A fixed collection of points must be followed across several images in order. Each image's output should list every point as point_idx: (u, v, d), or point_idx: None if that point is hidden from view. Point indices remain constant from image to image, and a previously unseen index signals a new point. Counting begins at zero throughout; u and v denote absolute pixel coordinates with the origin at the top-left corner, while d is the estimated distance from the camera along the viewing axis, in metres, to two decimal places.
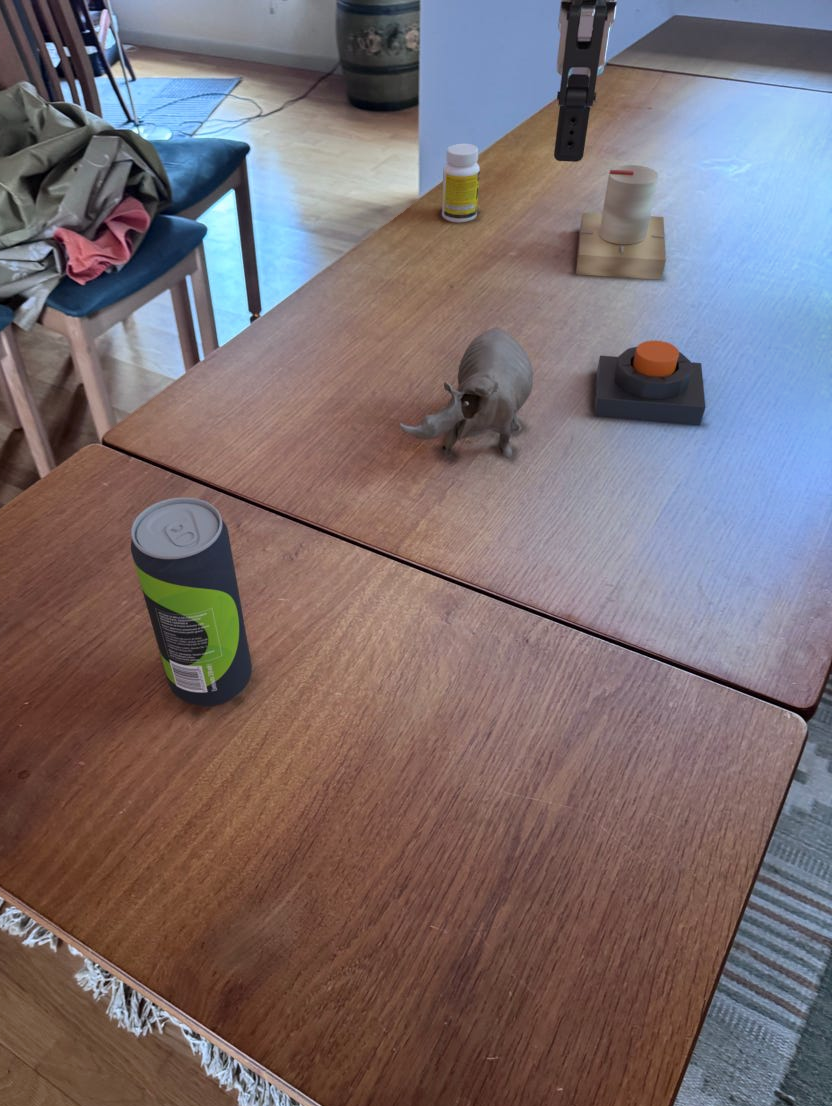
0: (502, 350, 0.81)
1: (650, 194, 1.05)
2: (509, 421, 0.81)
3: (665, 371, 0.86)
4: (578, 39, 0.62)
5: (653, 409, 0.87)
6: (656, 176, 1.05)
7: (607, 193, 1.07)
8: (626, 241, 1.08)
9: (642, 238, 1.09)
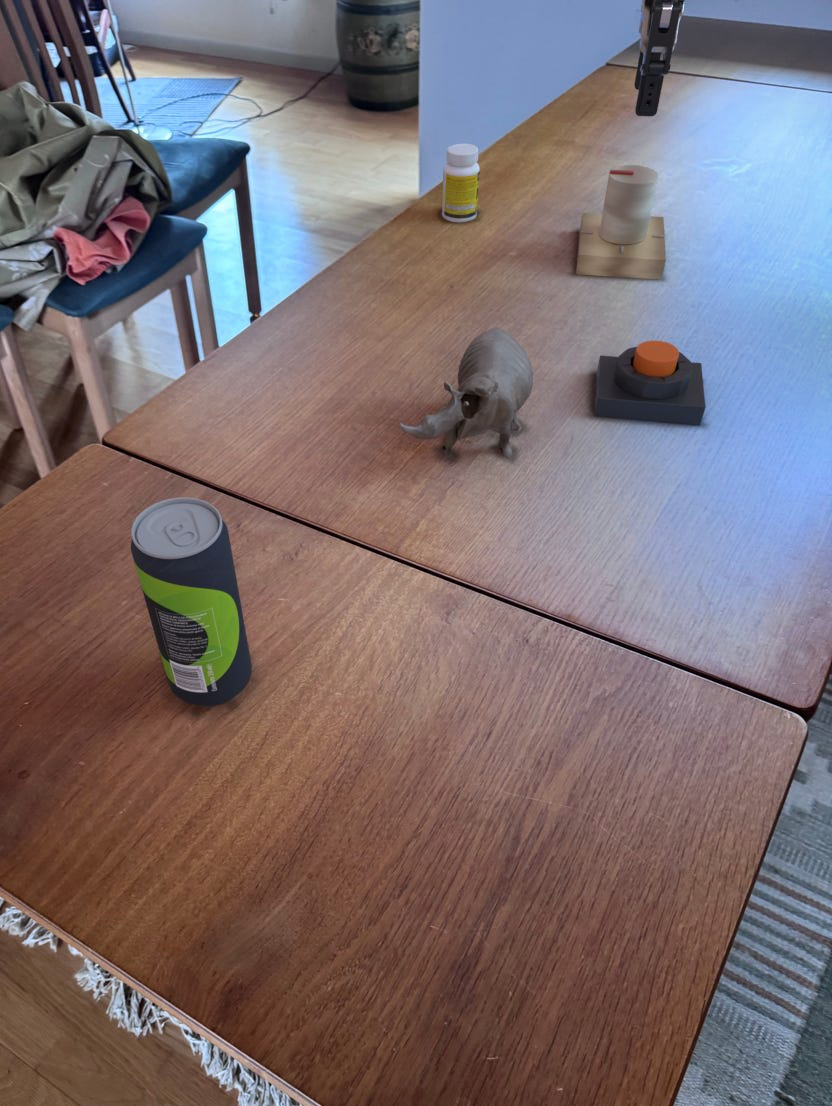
0: (502, 350, 0.81)
1: (650, 194, 1.05)
2: (509, 421, 0.81)
3: (665, 371, 0.86)
4: (660, 26, 0.88)
5: (653, 409, 0.87)
6: (656, 176, 1.05)
7: (607, 193, 1.07)
8: (626, 241, 1.08)
9: (642, 238, 1.09)
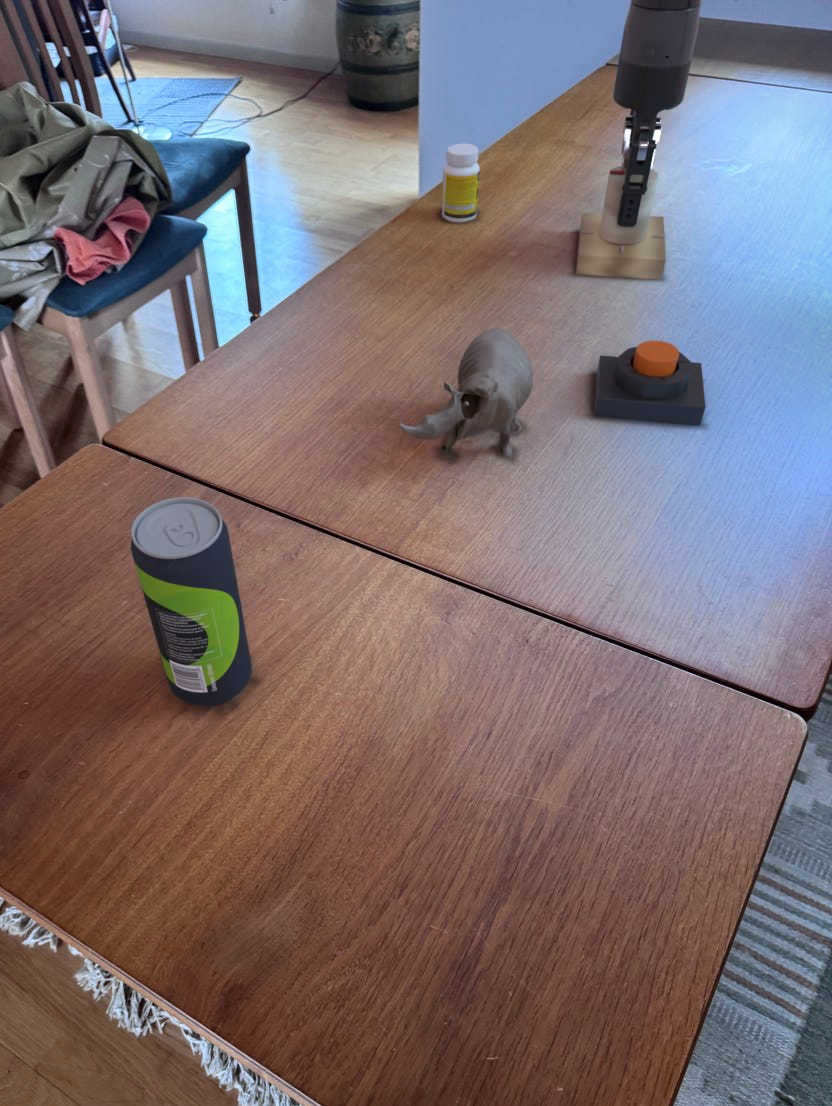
0: (502, 350, 0.81)
1: (650, 194, 1.05)
2: (509, 421, 0.81)
3: (665, 371, 0.86)
4: (637, 159, 0.98)
5: (653, 409, 0.87)
6: (656, 176, 1.05)
7: (607, 193, 1.07)
8: (626, 241, 1.08)
9: (642, 238, 1.09)
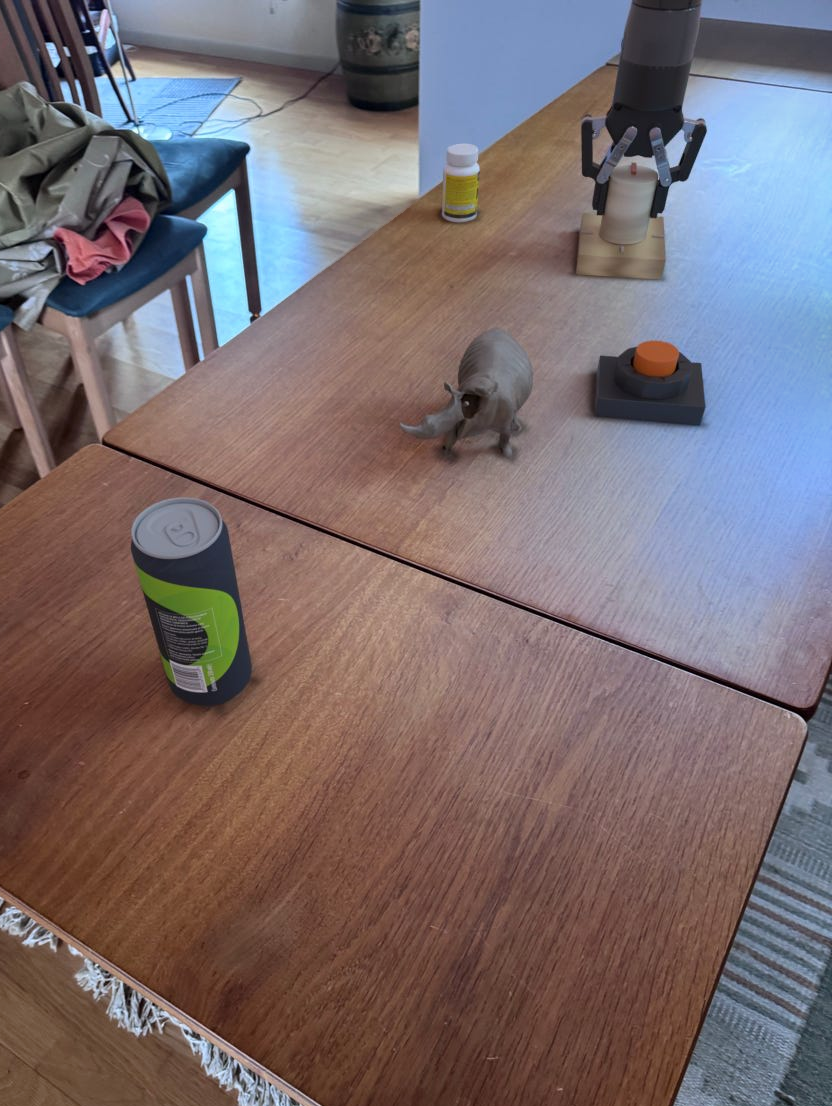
0: (502, 350, 0.81)
1: (615, 193, 1.05)
2: (509, 421, 0.81)
3: (665, 371, 0.86)
4: None
5: (653, 409, 0.87)
6: (630, 182, 1.04)
7: None
8: (599, 231, 1.10)
9: (609, 239, 1.09)
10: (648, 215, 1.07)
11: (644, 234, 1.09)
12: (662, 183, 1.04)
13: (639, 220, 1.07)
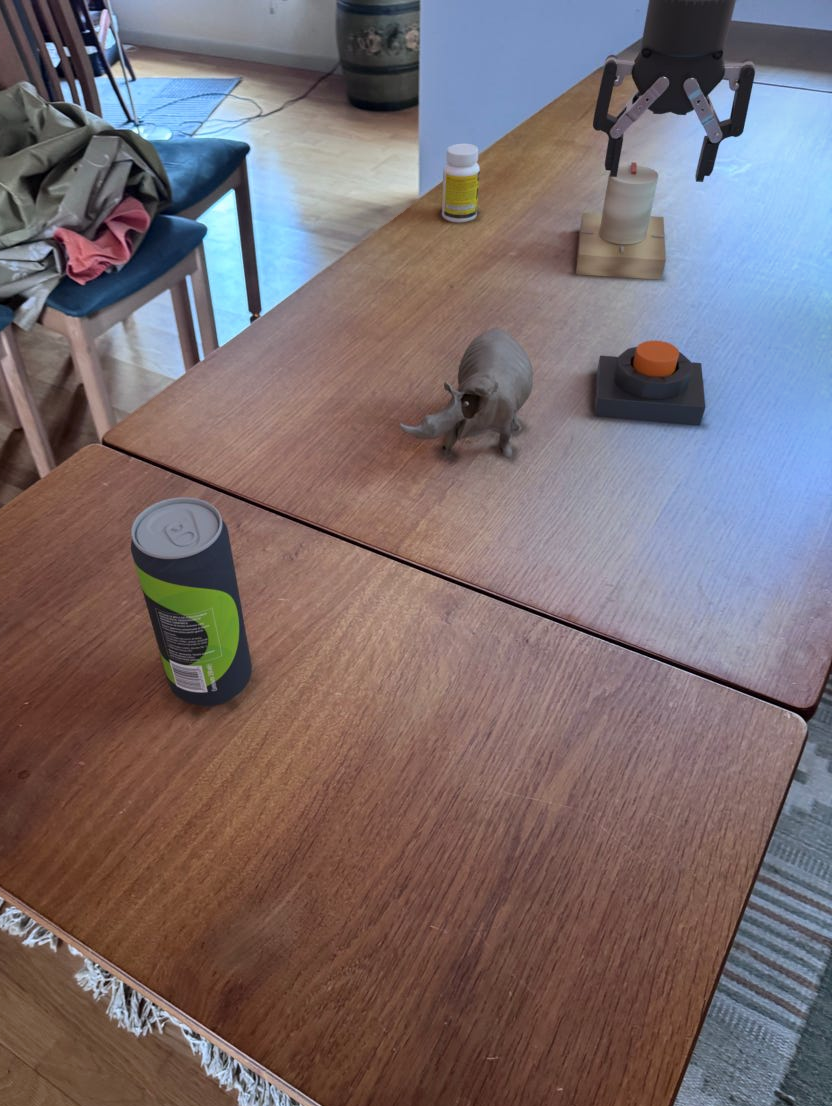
0: (502, 350, 0.81)
1: (615, 193, 1.05)
2: (509, 421, 0.81)
3: (665, 371, 0.86)
4: None
5: (653, 409, 0.87)
6: (630, 182, 1.04)
7: None
8: (599, 231, 1.10)
9: (609, 239, 1.09)
10: (648, 215, 1.07)
11: (644, 234, 1.09)
12: (711, 139, 0.88)
13: (639, 220, 1.07)
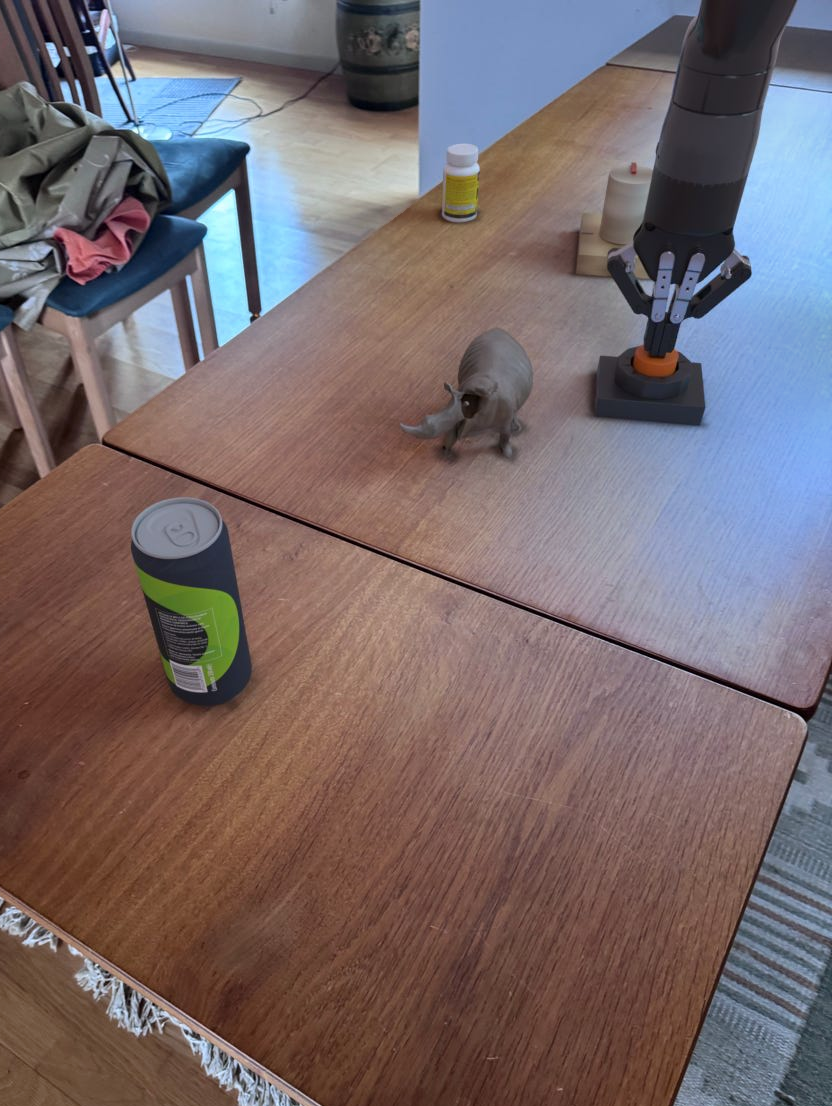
0: (502, 350, 0.81)
1: (615, 193, 1.05)
2: (509, 421, 0.81)
3: (665, 373, 0.87)
4: None
5: (653, 409, 0.87)
6: (630, 182, 1.04)
7: None
8: (599, 231, 1.10)
9: (609, 239, 1.09)
10: None
11: None
12: (672, 319, 0.83)
13: (639, 220, 1.07)
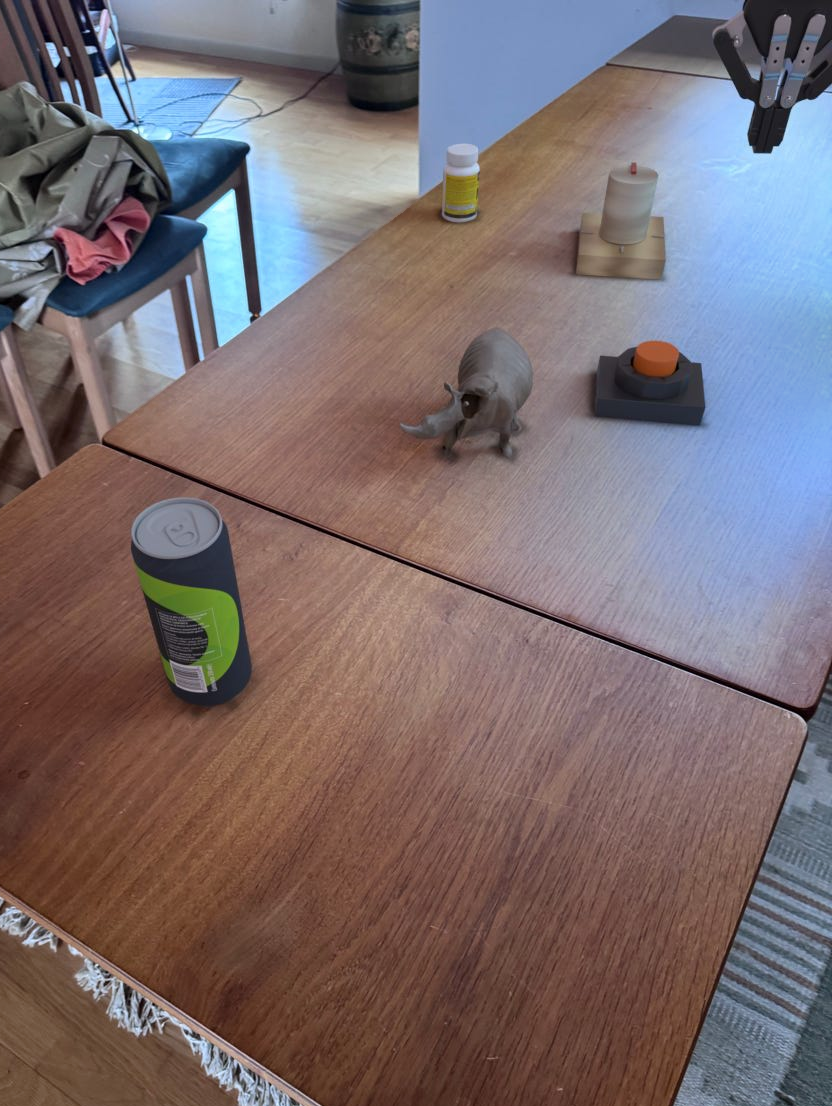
0: (502, 350, 0.81)
1: (615, 193, 1.05)
2: (509, 421, 0.81)
3: (665, 371, 0.86)
4: None
5: (653, 409, 0.87)
6: (630, 182, 1.04)
7: None
8: (599, 231, 1.10)
9: (609, 239, 1.09)
10: (648, 215, 1.07)
11: (644, 234, 1.09)
12: (783, 103, 0.76)
13: (639, 220, 1.07)
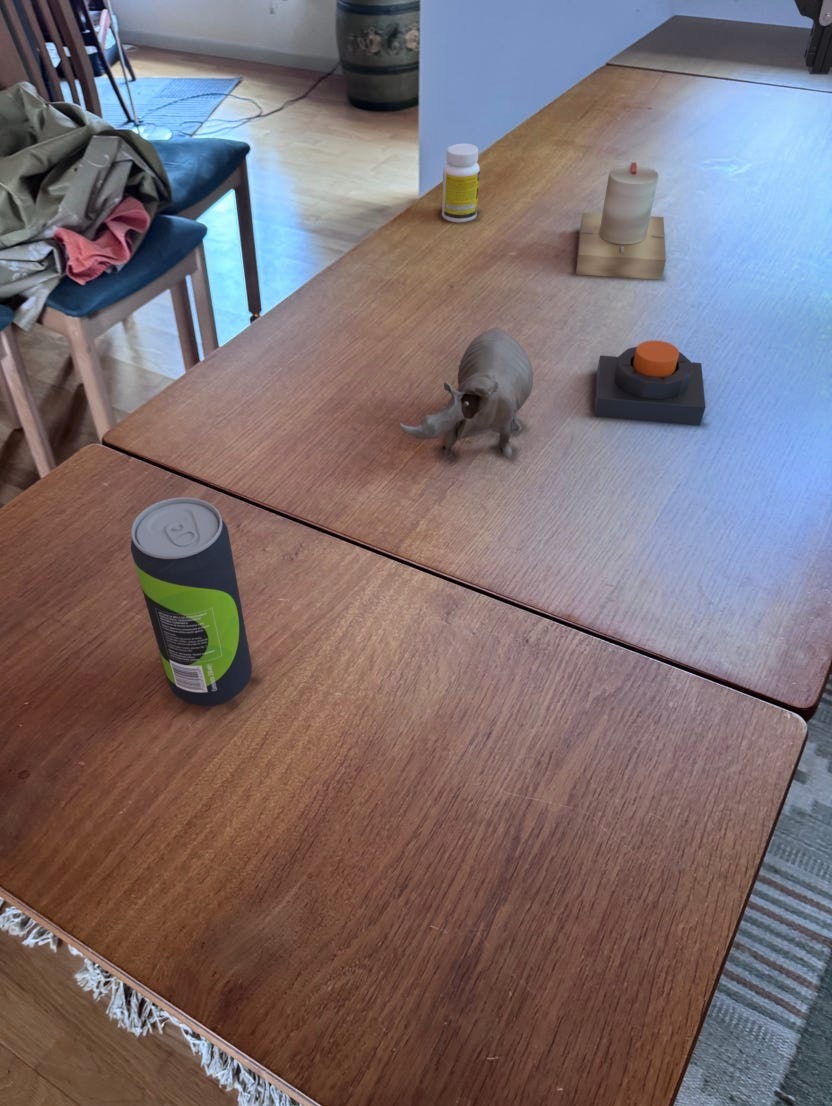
0: (502, 350, 0.81)
1: (615, 193, 1.05)
2: (509, 421, 0.81)
3: (665, 371, 0.86)
4: None
5: (653, 409, 0.87)
6: (630, 182, 1.04)
7: None
8: (599, 231, 1.10)
9: (609, 239, 1.09)
10: (648, 215, 1.07)
11: (644, 234, 1.09)
12: None
13: (639, 220, 1.07)
